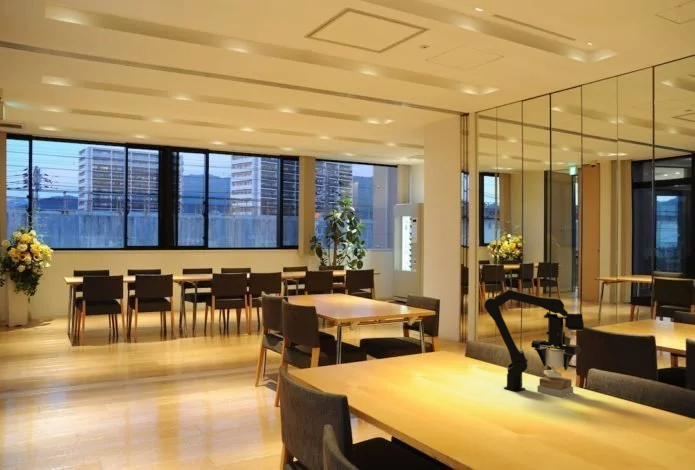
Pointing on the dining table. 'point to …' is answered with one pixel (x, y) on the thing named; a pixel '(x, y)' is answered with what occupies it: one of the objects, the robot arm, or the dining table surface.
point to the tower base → (554, 391)
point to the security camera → (554, 361)
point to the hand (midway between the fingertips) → (555, 368)
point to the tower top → (555, 382)
